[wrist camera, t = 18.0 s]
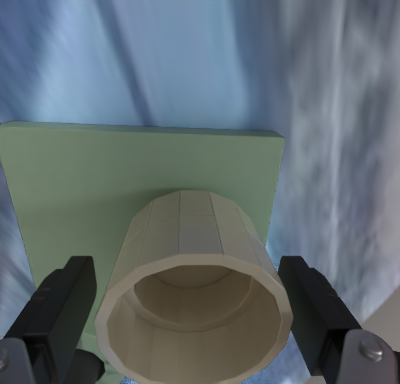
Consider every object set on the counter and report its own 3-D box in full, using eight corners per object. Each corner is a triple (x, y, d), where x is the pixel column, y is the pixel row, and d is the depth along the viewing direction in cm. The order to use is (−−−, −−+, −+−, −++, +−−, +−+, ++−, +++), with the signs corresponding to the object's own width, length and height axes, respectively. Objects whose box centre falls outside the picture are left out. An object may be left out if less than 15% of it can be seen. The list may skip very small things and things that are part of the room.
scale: (55, 350, 17) (31, 400, 15) (-6, 120, 11) (-66, 133, 9) (240, 345, 18) (249, 391, 16) (275, 131, 12) (301, 146, 10)
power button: (56, 377, 15) (38, 421, 13) (48, 346, 14) (26, 389, 12) (103, 375, 15) (92, 418, 13) (98, 345, 14) (85, 387, 12)
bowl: (130, 292, 14) (105, 396, 9) (121, 183, 11) (81, 254, 7) (245, 291, 14) (274, 389, 10) (262, 186, 12) (311, 254, 7)
